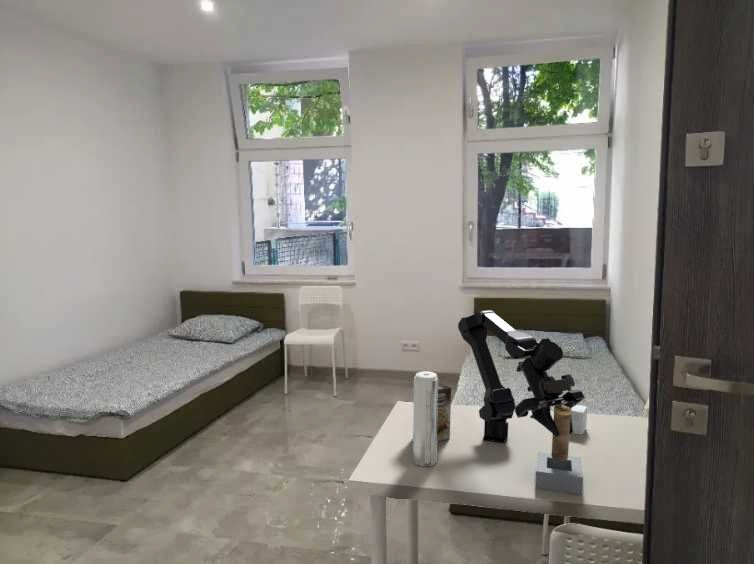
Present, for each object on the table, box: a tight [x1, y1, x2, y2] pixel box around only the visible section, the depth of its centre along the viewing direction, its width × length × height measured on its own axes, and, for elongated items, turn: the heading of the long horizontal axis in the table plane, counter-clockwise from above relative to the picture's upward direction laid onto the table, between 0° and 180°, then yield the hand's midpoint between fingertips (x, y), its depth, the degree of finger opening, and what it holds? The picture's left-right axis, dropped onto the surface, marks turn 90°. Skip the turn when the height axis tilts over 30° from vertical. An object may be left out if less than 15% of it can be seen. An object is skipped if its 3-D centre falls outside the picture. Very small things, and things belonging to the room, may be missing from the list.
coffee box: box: [437, 381, 452, 442], centre depth 166 cm, size 9×6×16 cm
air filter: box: [412, 371, 439, 467], centre depth 151 cm, size 6×6×25 cm
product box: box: [571, 404, 588, 436], centre depth 172 cm, size 6×6×7 cm
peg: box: [551, 405, 571, 461], centre depth 140 cm, size 4×4×13 cm
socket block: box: [535, 451, 584, 496], centre depth 142 cm, size 11×11×4 cm
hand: (564, 434), depth 139 cm, fingers closed on peg, 4 cm apart
